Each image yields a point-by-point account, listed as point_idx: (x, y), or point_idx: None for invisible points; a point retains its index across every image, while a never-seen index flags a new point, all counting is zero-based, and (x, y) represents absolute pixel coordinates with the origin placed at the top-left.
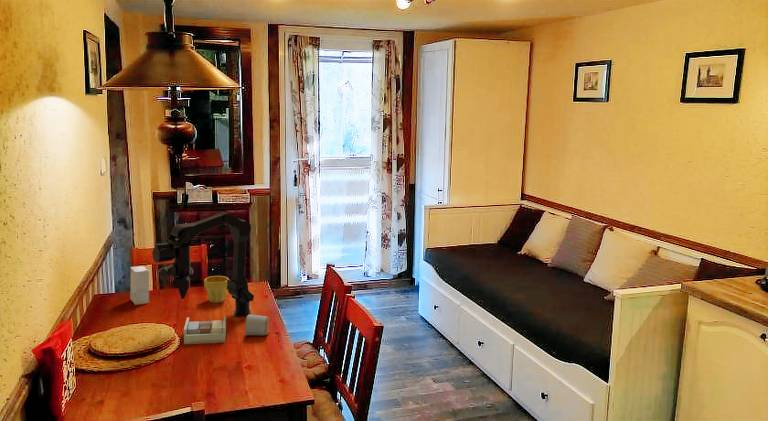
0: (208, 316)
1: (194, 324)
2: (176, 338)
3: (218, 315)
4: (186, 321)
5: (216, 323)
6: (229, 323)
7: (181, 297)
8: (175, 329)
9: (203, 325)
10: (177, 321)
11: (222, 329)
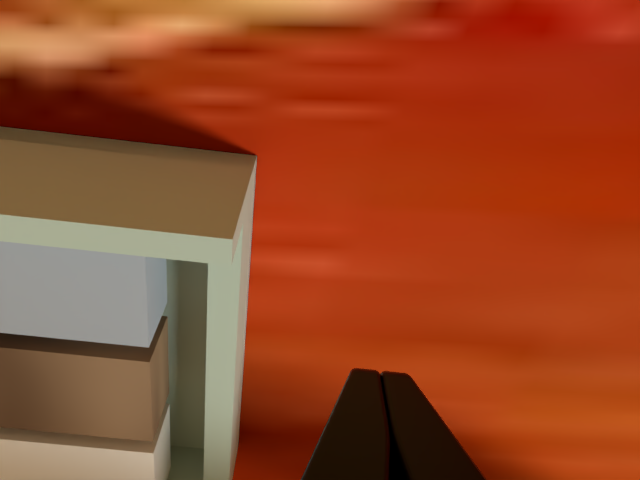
0: (632, 358)
1: (36, 294)
2: (36, 31)
3: (614, 427)
4: (52, 226)
5: (67, 472)
6: None
7: (344, 393)
8: (348, 24)
9: (4, 373)
10: (637, 55)
11: (174, 439)
